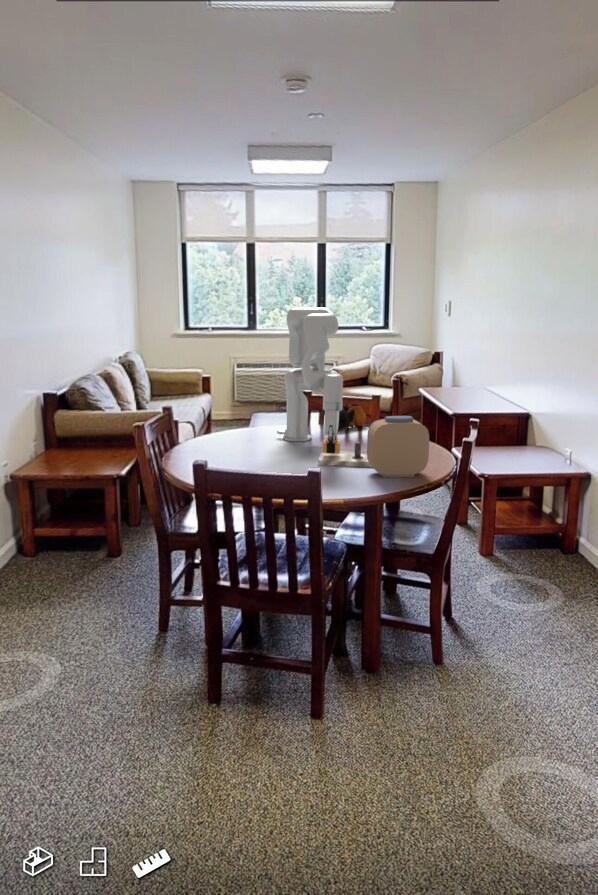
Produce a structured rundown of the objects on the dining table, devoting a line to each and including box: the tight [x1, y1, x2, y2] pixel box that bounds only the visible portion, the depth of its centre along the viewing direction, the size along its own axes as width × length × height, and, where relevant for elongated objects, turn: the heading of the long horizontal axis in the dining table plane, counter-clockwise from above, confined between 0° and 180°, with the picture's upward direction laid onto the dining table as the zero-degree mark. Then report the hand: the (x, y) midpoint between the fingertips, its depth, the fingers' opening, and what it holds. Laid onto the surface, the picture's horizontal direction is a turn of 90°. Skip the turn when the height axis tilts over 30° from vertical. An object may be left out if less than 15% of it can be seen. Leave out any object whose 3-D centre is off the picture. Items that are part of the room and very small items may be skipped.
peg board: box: [317, 441, 373, 468], centre depth 268 cm, size 22×12×8 cm, turn 83°
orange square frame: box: [322, 438, 341, 454], centre depth 269 cm, size 6×6×4 cm
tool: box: [338, 403, 367, 432], centre depth 331 cm, size 8×23×15 cm, turn 132°
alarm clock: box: [366, 415, 430, 478], centre depth 250 cm, size 21×10×22 cm, turn 98°
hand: (331, 450), depth 270 cm, fingers closed on orange square frame, 6 cm apart
